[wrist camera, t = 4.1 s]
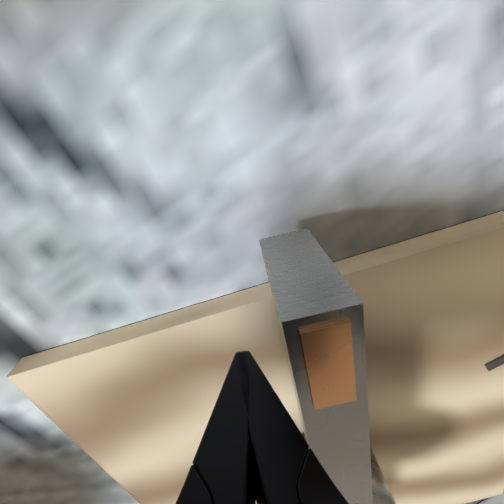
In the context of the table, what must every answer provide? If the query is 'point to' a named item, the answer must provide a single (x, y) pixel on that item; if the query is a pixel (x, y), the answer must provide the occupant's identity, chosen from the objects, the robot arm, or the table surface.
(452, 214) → the table surface
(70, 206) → the table surface
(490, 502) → the small box
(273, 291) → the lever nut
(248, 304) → the base plate
